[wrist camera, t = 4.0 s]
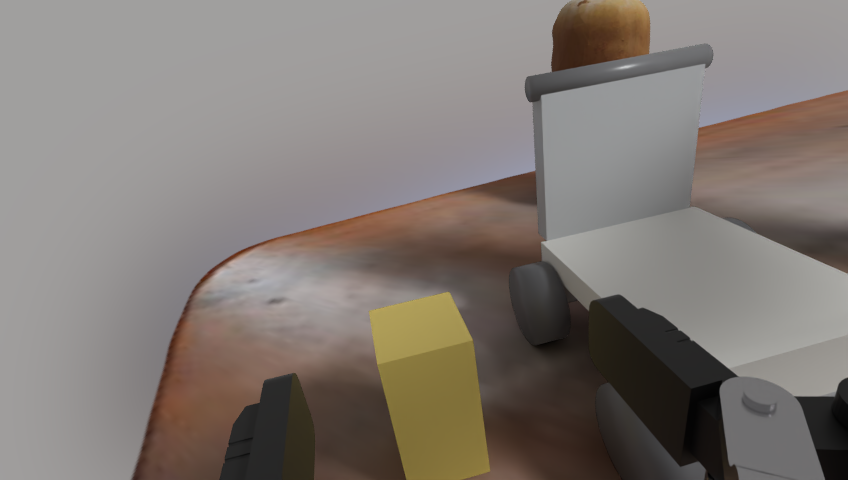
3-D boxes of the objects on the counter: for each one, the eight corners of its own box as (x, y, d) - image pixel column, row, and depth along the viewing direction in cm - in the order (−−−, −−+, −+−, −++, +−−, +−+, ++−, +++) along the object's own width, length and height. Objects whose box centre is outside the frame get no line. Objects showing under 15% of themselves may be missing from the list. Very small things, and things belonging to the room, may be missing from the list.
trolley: (509, 313, 41) (490, 81, 32) (697, 266, 43) (726, 38, 35) (664, 541, 22) (716, 134, 14) (982, 437, 24) (1201, 31, 16)
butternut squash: (671, 190, 60) (691, -21, 50) (600, 221, 55) (604, -8, 45) (591, 171, 72) (592, -4, 61) (525, 195, 67) (515, 8, 56)
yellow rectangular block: (398, 429, 31) (368, 310, 27) (467, 410, 32) (449, 291, 27) (410, 494, 27) (377, 364, 22) (490, 471, 27) (472, 340, 23)
